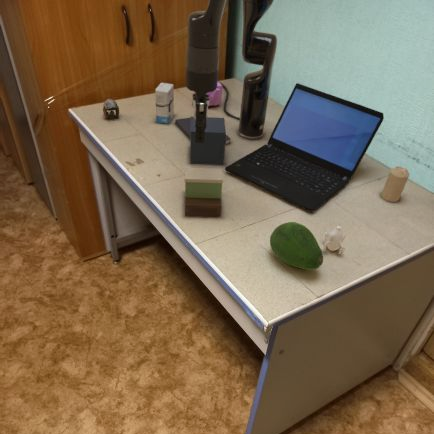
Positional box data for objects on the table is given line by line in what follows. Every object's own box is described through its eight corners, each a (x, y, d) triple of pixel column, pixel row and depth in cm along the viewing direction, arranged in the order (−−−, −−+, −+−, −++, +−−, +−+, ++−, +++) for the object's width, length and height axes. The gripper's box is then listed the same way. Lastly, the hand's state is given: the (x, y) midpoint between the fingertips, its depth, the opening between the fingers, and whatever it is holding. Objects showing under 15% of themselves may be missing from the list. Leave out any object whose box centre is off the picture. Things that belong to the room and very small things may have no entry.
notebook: (175, 123, 159) (198, 149, 146) (175, 119, 158) (198, 144, 145) (205, 119, 164) (231, 143, 151) (205, 115, 163) (231, 139, 150)
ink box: (168, 124, 159) (167, 92, 150) (155, 122, 159) (154, 90, 151) (174, 115, 164) (174, 83, 156) (162, 113, 165) (161, 81, 157)
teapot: (181, 98, 177) (181, 73, 170) (208, 93, 182) (210, 69, 175) (202, 115, 166) (203, 89, 159) (230, 110, 172) (232, 84, 165)
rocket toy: (321, 253, 111) (328, 229, 105) (322, 240, 114) (329, 216, 109) (341, 257, 110) (350, 233, 104) (342, 244, 114) (350, 220, 108)
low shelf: (185, 192, 127) (185, 181, 124) (218, 193, 127) (219, 182, 125) (184, 216, 118) (185, 204, 115) (220, 217, 119) (221, 205, 116)
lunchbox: (184, 186, 122) (185, 167, 117) (220, 187, 122) (221, 169, 118) (184, 197, 117) (184, 178, 113) (221, 199, 118) (223, 180, 114)
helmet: (118, 117, 163) (113, 98, 160) (123, 116, 156) (119, 96, 153) (103, 120, 160) (98, 100, 158) (108, 118, 154) (103, 98, 151)
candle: (400, 195, 133) (412, 166, 126) (397, 203, 130) (410, 174, 123) (382, 190, 135) (393, 161, 128) (379, 198, 131) (391, 169, 124)
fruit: (327, 272, 105) (338, 241, 98) (297, 286, 101) (306, 255, 94) (289, 239, 114) (296, 208, 107) (259, 251, 110) (265, 219, 102)
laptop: (222, 172, 136) (227, 112, 122) (286, 136, 158) (296, 82, 144) (311, 215, 122) (328, 153, 109) (367, 169, 144) (387, 113, 130)
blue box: (190, 147, 147) (190, 116, 139) (221, 148, 148) (224, 117, 140) (190, 163, 139) (190, 131, 131) (223, 164, 140) (226, 132, 132)
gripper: (220, 77, 92) (215, 148, 103) (216, 57, 102) (212, 124, 114) (185, 75, 91) (184, 146, 103) (185, 56, 102) (184, 122, 113)
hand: (199, 134), depth 108 cm, fingers open, 8 cm apart
